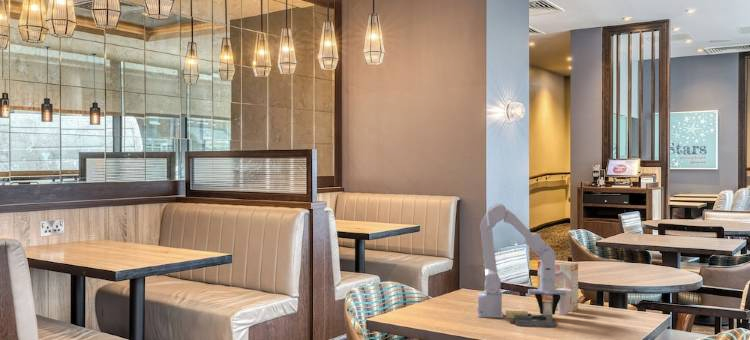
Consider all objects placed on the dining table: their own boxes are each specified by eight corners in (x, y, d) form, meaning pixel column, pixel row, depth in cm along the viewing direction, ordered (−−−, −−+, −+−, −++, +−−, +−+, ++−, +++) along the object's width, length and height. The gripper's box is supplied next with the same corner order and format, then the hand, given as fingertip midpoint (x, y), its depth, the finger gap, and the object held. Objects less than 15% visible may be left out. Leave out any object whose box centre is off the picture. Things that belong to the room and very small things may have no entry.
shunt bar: (506, 317, 244) (506, 312, 244) (505, 315, 247) (505, 310, 247) (527, 318, 243) (527, 313, 243) (527, 316, 246) (527, 311, 246)
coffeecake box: (537, 307, 271) (537, 260, 271) (544, 304, 277) (544, 258, 276) (571, 312, 262) (571, 264, 261) (578, 309, 267) (578, 262, 267)
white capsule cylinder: (542, 318, 251) (542, 303, 251) (541, 316, 255) (541, 300, 254) (553, 318, 250) (553, 303, 250) (552, 316, 254) (552, 301, 254)
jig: (515, 325, 240) (515, 317, 240) (513, 319, 250) (513, 311, 250) (554, 327, 238) (554, 318, 238) (551, 320, 248) (551, 312, 248)
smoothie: (572, 316, 255) (572, 280, 255) (555, 315, 257) (555, 279, 256) (570, 312, 262) (571, 277, 261) (554, 311, 263) (554, 277, 263)
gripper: (529, 280, 249) (529, 315, 249) (568, 281, 247) (568, 316, 247) (527, 276, 256) (527, 311, 256) (565, 278, 254) (565, 312, 254)
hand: (547, 313), depth 252 cm, fingers closed on white capsule cylinder, 4 cm apart
